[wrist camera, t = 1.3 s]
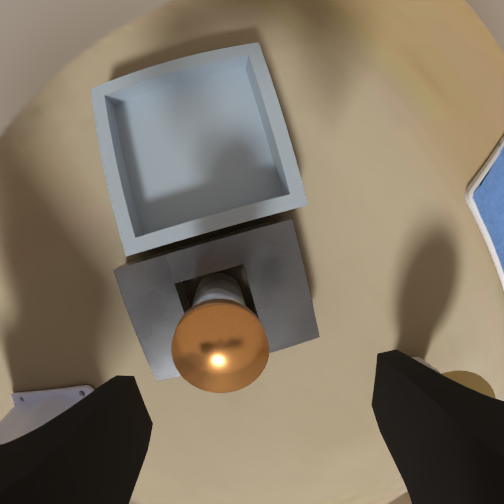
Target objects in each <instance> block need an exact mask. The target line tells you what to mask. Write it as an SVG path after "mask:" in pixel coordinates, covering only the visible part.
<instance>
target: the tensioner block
mask: <svg viewBox="0 0 504 504" xmlns="http://www.w3.org/2000/svg"><path fill="white" fill-rule="evenodd" d="M239 265H242V266H243V269H244V273H245V276H246V280H247V284H248V287H249V291H250V294H251V298H252V301H253V305H254V308H255V312H256V316H257V317H258V319H259V320H260V322H261V324H262V326H263V329H264V331H265V334H266V336H267V339H268V344H269V353H271V352H275V351H278V350H281V349H284V348H288V347H291V346H294V345H297V344H300V343H303V342H306V341H309V340H312V339H315V338H318V337H319V332H318V327H317V323H316V318H315V313H314V309H313V304H312V300H311V295H310V291H309V286H308V282H307V278H306V273H305V269H304V265H303V260H302V256H301V252H300V248H299V244H298V240H297V236H296V232H295V228H294V224H293V220H292V219H287V218H282V219H278V220H274V221H270V222H267V223H263V224H259V225H256V226H252V227H249V228H245V229H241V230H238V231H234V232H230V233H227V234H223V235H220V236H216V237H213V238H209V239H206V240H202V241H199V242H195V243H192V244H188V245H185V246H181V247H178V248H174V249H171V250H168V251H164V252H161V253H157V254H154V255H151V256H147V257H144V258H141V259H137V260H134V261H131V262H127V263H125V264H123V265H121V266H120V267H118V268H116V269H114V274H115V277H116V280H117V283H118V286H119V289H120V292H121V295H122V297H123V300H124V303H125V306H126V309H127V311H128V314H129V317H130V319H131V322H132V325H133V327H134V330H135V332H136V335H137V337H138V340H139V342H140V345H141V347H142V349H143V352H144V354H145V357H146V359H147V361H148V363H149V366H150V368H151V370H152V372H153V375H154V377H155V379H156V381H159V380H164V379H169V378H174V377H178V376H181V374H180V373H179V372H178V370H177V369H176V367H175V365H174V362H173V359H172V354H171V345H172V339H173V336H174V333H175V330H176V327H177V325H178V322H179V320H180V319H181V317H182V316H183V315H184V314H185V312H186V311H188V310H189V309H190V305H189V302H188V299H187V296H186V293H185V290H184V286H183V283H182V281H185V280H189V279H193V278H196V277H200V276H203V275H207V274H210V273H214V272H218V271H221V270H225V269H228V268H232V267H235V266H239Z"/></svg>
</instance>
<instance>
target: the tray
mask: <svg viewBox="0 0 504 504" xmlns="http://www.w3.org/2000/svg"><path fill="white" fill-rule="evenodd" d="M91 97H92V105H93V112H94V119H95V125H96V131H97V137H98V142H99V148H100V153H101V158H102V163H103V168H104V173H105V178H106V182H107V186H108V191H109V195H110V199H111V203H112V207H113V211H114V215H115V219H116V223H117V226H118V230H119V234H120V237H121V241H122V244H123V248H124V251H125V254H126V256H130V255H133V254H136V253H139V252H143V251H146V250H149V249H153V248H156V247H159V246H163V245H166V244H170V243H173V242H176V241H180V240H183V239H187V238H190V237H194V236H197V235H200V234H204V233H207V232H211V231H215V230H218V229H222V228H225V227H229V226H232V225H236V224H240V223H243V222H247V221H251V220H254V219H258V218H262V217H265V216H269V215H273V214H277V213H280V212H284V211H288V210H292V209H296V208H299V207H303V206H307V205H308V203H307V199H306V195H305V191H304V187H303V184H302V180H301V176H300V173H299V169H298V165H297V162H296V158H295V155H294V151H293V148H292V144H291V141H290V137H289V134H288V130H287V127H286V124H285V120H284V117H283V114H282V111H281V107H280V104H279V101H278V98H277V95H276V92H275V89H274V86H273V82H272V79H271V76H270V73H269V71H268V68H267V65H266V62H265V59H264V56H263V53H262V50H261V47H260V45H259V42H257V43H250V44H244V45H238V46H232V47H227V48H222V49H217V50H212V51H207V52H203V53H199V54H194V55H190V56H186V57H183V58H179V59H175V60H171V61H168V62H164V63H161V64H158V65H154V66H151V67H148V68H145V69H142V70H139V71H136V72H133V73H130V74H127V75H125V76H122V77H119V78H117V79H114V80H111V81H109V82H106V83H104V84H101V85H99V86H96V87H94V88H92V89H91Z"/></svg>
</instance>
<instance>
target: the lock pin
mask: <svg viewBox="0 0 504 504" xmlns="http://www.w3.org/2000/svg"><path fill="white" fill-rule="evenodd" d="M171 354H172V359H173V362H174V365H175V367H176V369H177V370H178V372H179V373H180V374H181V376H182V377H183V378H184V379H185V380H186V381H188V382H189V383H190V384H192V385H193V386H195V387H197V388H199V389H202V390H205V391H209V392H215V393H226V392H232V391H236V390H239V389H242V388H244V387H246V386H248V385H249V384H251V383H252V382H253V381H255V380H256V379H257V378H258V377H259V376H260V374H261V373H262V372H263V370H264V368H265V366H266V364H267V361H268V357H269V344H268V339H267V336H266V334H265V331H264V329H263V326H262V324H261V322H260V320H259V319H258V317H257V316H256V315H255V314H254V313H253V312H252V311H251V310H250V309H249V308H248V307H246V305H245V302H244V299H243V296H242V292H241V289H240V286H239V284H238V283H237V282H236V280H235V279H233V278H232V277H231V276H229V275H226V274H223V273H214V274H211V275H208V276H206V277H205V278H204V279H202V280H201V282H200V283H199V285H198V287H197V290H196V293H195V297H194V301H193V305H192V307H191V308H190V309H189V310H188V311H186V312H185V314H184V315H183V316H182V317H181V319H180V320H179V322H178V325H177V327H176V330H175V333H174V336H173V339H172V345H171Z"/></svg>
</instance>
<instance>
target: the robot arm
mask: <svg viewBox="0 0 504 504" xmlns="http://www.w3.org/2000/svg"><path fill="white" fill-rule="evenodd" d="M81 391H83V392H84V393H85V394H83V393H82V392H81ZM11 399H12V401H13V403H14V404H15V406H14V407H13V408H12V409H11V410H10V412H9V413H8V414H7V415H6V416H5V417H4V418H3V419H2V421H1V422H0V504H129V501H130V498H131V496H132V493H133V490H134V487H135V484H136V481H137V479H138V476H139V473H140V470H141V467H142V465H143V462H144V459H145V456H146V453H147V450H148V446H149V441H150V436H151V430H152V425H153V423H152V421H151V418H150V416H149V414H148V411H147V409H146V406H145V404H144V401H143V399H142V396H141V394H140V391H139V388H138V386H137V383H136V380H135V378H134V376H115V377H114V378H112V379H110V380H109V381H107V382H106V383H104V384H103V385H101V386H100V387H98V388H97V389H96V390H94V389H93V388H92V387H91V386H89V385H83V386H76V387H68V388H60V389H51V390H41V391H30V392H18V393H13V394H12V395H11ZM372 408H373V411H374V414H375V417H376V420H377V423H378V426H379V429H380V432H381V434H382V436H383V439H384V441H385V443H386V445H387V447H388V449H389V451H390V453H391V455H392V457H393V459H394V461H395V464H396V466H397V468H398V470H399V472H400V474H401V476H402V478H403V480H404V482H405V485H406V487H407V490H408V492H409V495H410V498H411V501H412V504H504V401H501V400H498V399H495V398H492V397H489V396H487V395H484V394H482V393H479V392H477V391H475V390H473V389H470V388H468V387H466V386H464V385H462V384H460V383H458V382H455V381H453V380H452V379H450V378H448V377H446V376H444V375H442V374H440V373H438V372H436V371H435V370H433V369H431V368H429V367H427V366H426V365H424V364H422V363H420V362H419V361H417V360H415V359H413V358H411V357H410V356H408V355H406V354H404V353H402V352H400V351H398V350H392V351H388V352H383V353H379V354H378V355H377V365H376V375H375V383H374V391H373V399H372Z"/></svg>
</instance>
